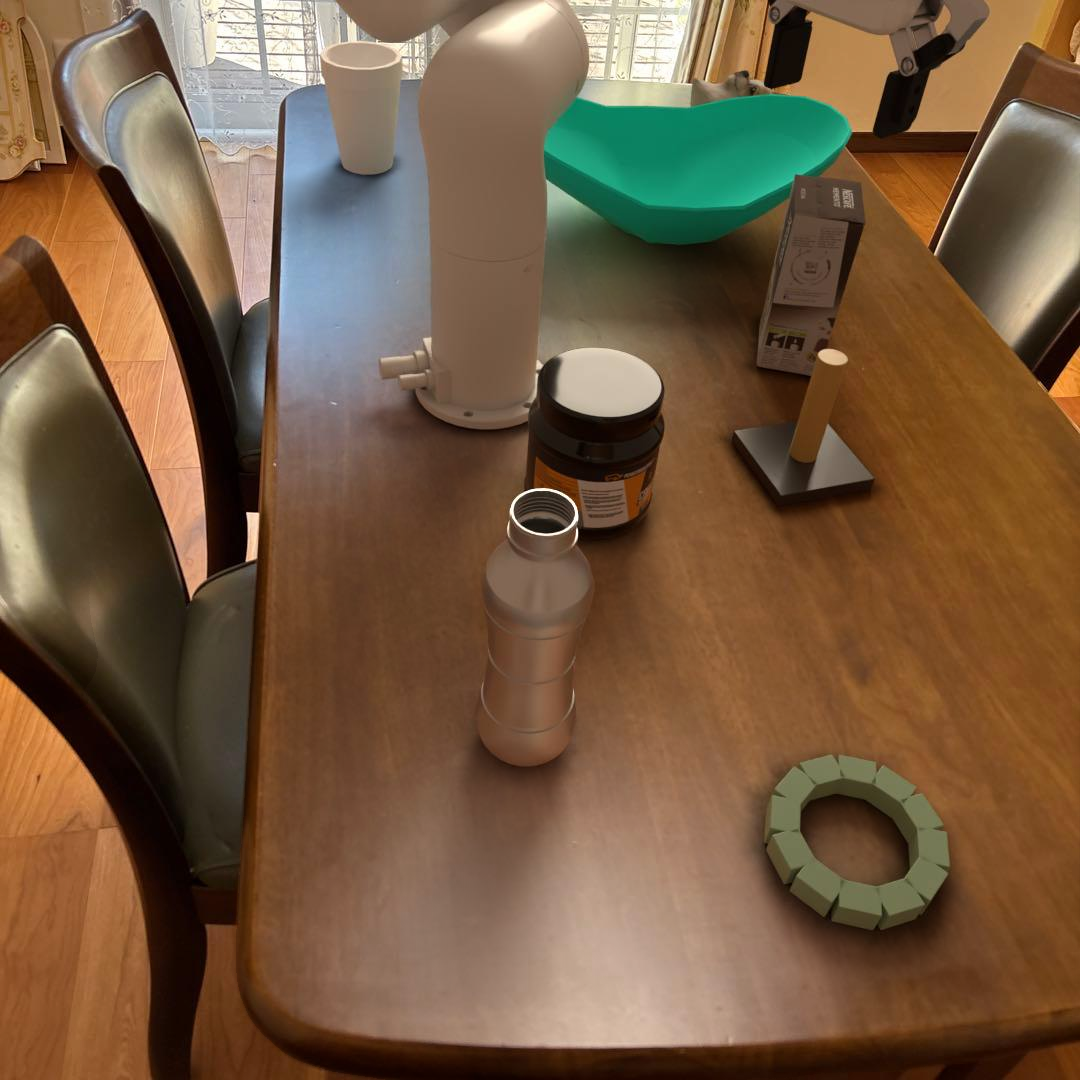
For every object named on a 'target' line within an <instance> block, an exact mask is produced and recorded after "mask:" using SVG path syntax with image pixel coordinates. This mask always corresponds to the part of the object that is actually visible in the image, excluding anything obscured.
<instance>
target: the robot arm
mask: <svg viewBox="0 0 1080 1080" xmlns="http://www.w3.org/2000/svg"><path fill="white" fill-rule="evenodd" d="M334 2H335V3H337V5H338V6H339V8H341V9H342V11H343V12H344V13H345V14H346V15H347V17H348V18H349V19H350V20H351V21H352V22H353V23H354V24H355V25H356V26H357V27H358V28H360V30H362V32H364V33H365V34H367V35H368V36H370V37H372V38H373V39H375V40H377V41H380V42H383V43H389V44H398V43H404V42H409V41H411V40H413V39H415V38H417V37H419V36H421V35H423V34H425V33H427V32H428V31H430V30H431V29H433V28H434V27H436V26H438V25H439V26H440V28H442V30H443V31H444V32H445V33H446V35H448V36H449V38H448V39H446V40H445V42H444V43H442V45H440V47H439V48H438V50H436V52H434V54H433V56H432V57H431V59H430V61H429V63H428V65H427V66H426V68H425V70H424V72H423V75H422V78H421V82H420V86H419V91H418V96H417V97H418V98H417V117H418V125H419V126H418V127H419V132H420V137H421V142H422V147H423V152H424V158H425V165H426V173H427V185H428V205H429V207H428V209H429V211H428V212H429V213H428V215H429V244H430V245H429V247H430V248H429V250H430V251H429V253H430V254H429V255H430V334H431V335H430V336H428V337H423V338H422V349H418V350H413V351H412V354H410V355H402V356H399V355H397V356H388V357H380V358H378V370H379V375H380V378H381V380H383V381H384V380H392V379H398V388H399V390H400V392H404V391H413V390H415V395H416V397H417V400H418V401H419V403H420V404H421V406H422V407H423V408H424V409H425V410H426V411H427V412H429V414H431V415H433V416H434V417H435V418H438V419H439V420H442V421H443V422H445V423H448V424H451V425H454V426H456V427H460V428H461V427H463V428H467V429H471V430H500V429H501V430H502V429H506V428H512V427H515V426H519V425H522V424H523V423H526V422H528V413H529V409H530V406H531V404H532V402H533V400H534V399H535V398H536V393H537V380H538V375H539V372H540V370H541V368H542V367H543V365H544V363H542V362H541V361H540V360H539V359H538V351H539V350H538V347H539V336H540V335H539V334H540V321H541V320H540V319H541V308H542V295H543V293H542V292H543V281H544V267H545V252H546V236H547V223H548V222H547V220H548V184H547V179H546V175H545V167H544V145H545V140H546V137H547V133H548V131H549V130H550V129H551V128H552V126H553V125H554V124H555V123H556V122H557V120H558V119H559V118H560V117H561V115H562V114H563V113H564V112H565V111H566V110H567V109H568V108H569V107H570V105H571V104H572V103H573V102H574V100H575V99H576V98H577V97H579V95H580V93H581V92H582V90H583V88H584V86H585V83H586V81H587V77H588V73H589V68H590V48H589V42H588V39H587V35H586V32H585V29H584V28H583V26H582V23H581V21H580V19H579V17H578V16H577V14H576V13H575V11H574V9H573V8H572V6H571V4H570V3H569V2H568V1H567V0H334ZM767 2H768V5H769V9H768V10H767V18H768V21H769V22H770V23H771V24H772V25H774V26H773V32H772V37H771V42H770V47H769V54H768V58H767V63H766V69H765V74H764V79H763V82H764V86H765V87H767V88H769V89H770V90H774V89H778V88H782V87H786V86H789V85H793V84H794V85H795V84H797V83H799V82H801V80H802V78H803V74H804V68H805V64H806V60H807V55H808V52H809V51H808V50H809V46H810V42H811V38H812V37H811V36H812V33H813V20H810V19H808V18H807V17H808V16H809V15H810V13H814V14H816V15H818V16H819V15H820V16H821V17H824V18H827V19H829V20H832V21H834V22H837V23H839V24H842V25H844V26H845V25H846V26H848V27H851V28H853V29H857V30H859V31H862V32H864V33H867V34H870V35H874V36H875V35H876V36H889V40H890V43H891V47H892V50H893V54H894V57H895V61H896V65H897V68H898V69H897V70H893V71H890V72H889V73H888V74H887V76H886V79H885V83H884V86H883V91H882V93H881V98H880V101H879V105H878V109H877V112H876V116H875V120H874V123H873V127H872V133H873V136H875V137H877V138H879V139H880V140H881V139H882V140H883V139H885V138H888V137H892V136H895V135H898V134H901V133H906V132H908V131H909V130H910V128H911V127H912V125H913V123H914V122H915V121H916V119H917V117H918V114H919V111H920V108H921V104H922V101H923V98H924V94H925V90H926V87H927V84H928V81H929V77H930V74H931V71H933V70H936V69H939V68H940V67H941V65H942V64H943V63H945V62H946V61H948V60H950V59H951V58H952V57H954V56H956V55H957V54H959V53H960V52H961V51H963V50H964V49H965V47H966V44H967V42H968V41H969V40H971V39H972V37H974V35H975V34H976V32H977V31H978V30H979V29H980V28H981V27H982V25H984V23H985V22H986V21H987V19H988V17H989V15H990V7H989V6H988V4H987V2H986V1H985V0H767ZM944 7H946V9H947V10H948V11H949V13H950V18H949V21H948V23H947V24H946V26H945V29H944V30H943V31H942V32H941V33H940V34H938V33H937V28H936V25H935V22H936V21H937V20H938V19H939V18H940V16H941V13H942V11H943V9H944Z"/></svg>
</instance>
